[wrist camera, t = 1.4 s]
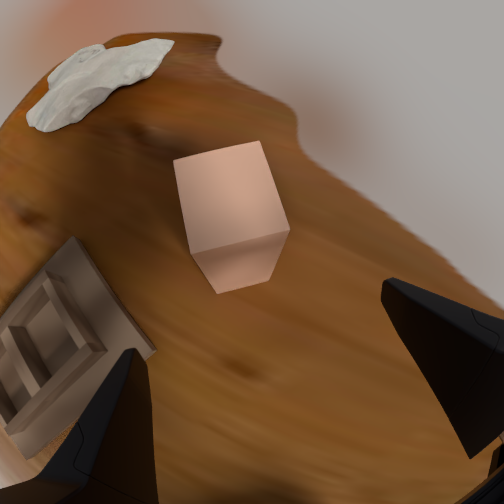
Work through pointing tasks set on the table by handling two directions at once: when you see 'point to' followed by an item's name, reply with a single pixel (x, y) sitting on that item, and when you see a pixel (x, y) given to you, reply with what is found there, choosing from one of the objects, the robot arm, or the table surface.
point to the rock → (93, 80)
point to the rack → (60, 347)
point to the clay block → (232, 215)
